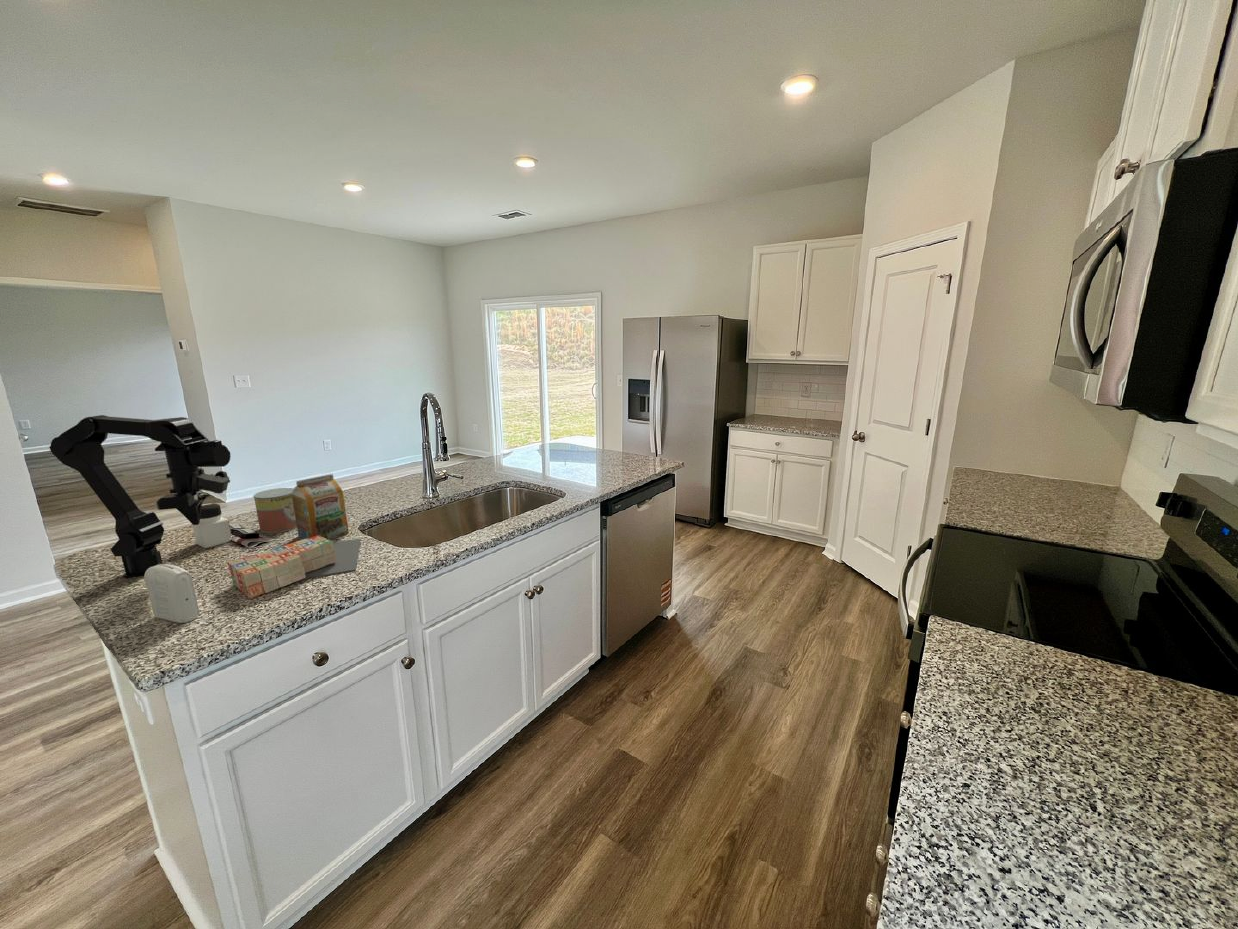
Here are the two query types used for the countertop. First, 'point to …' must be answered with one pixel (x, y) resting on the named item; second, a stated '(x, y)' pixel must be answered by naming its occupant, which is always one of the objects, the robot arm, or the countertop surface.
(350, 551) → the mat
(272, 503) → the canned food
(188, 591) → the photo printer
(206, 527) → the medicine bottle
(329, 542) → the stack of blocks
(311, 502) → the milk carton
